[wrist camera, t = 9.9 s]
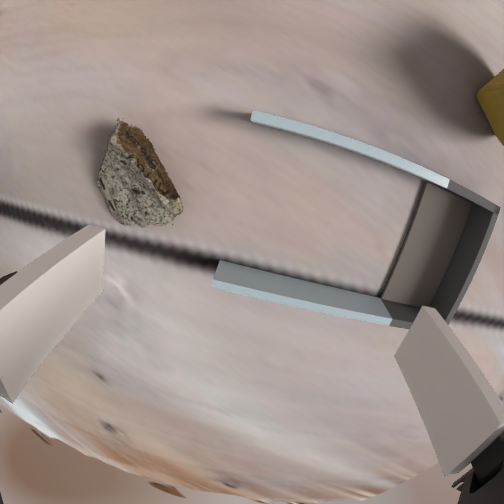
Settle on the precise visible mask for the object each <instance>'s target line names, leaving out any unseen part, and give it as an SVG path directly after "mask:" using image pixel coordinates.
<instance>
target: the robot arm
mask: <svg viewBox="0 0 504 504" xmlns="http://www.w3.org/2000/svg"><path fill="white" fill-rule="evenodd" d="M104 246H105V229H104V228H100V227H97V226H93V225H88V226H86V227H84V228H83V229H81V230H79V231H78V232H76V233H75V234H73V235H72V236H70V237H68V238H67V239H65V240H64V241H62V242H61V243H59V244H58V245H56V246H55V247H53V248H52V249H50V250H49V251H47V252H46V253H44V254H43V255H41V256H40V257H38V258H37V259H36V260H34V261H33V262H31V263H30V264H28V265H27V266H26V267H24V268H23V269H21V270H20V271H19V272H17V271H16V272H14V273H11V274H8V275H6V276H3V277H2V278H0V396H2V397H3V398H5V399H6V400H8V401H9V402H11V403H12V404H13V402H14V401H15V399H16V398H17V397H18V395H19V394H20V392H21V391H22V390H23V388H24V387H25V386H26V384H27V383H28V382H29V380H30V379H31V378H32V376H33V375H34V374H35V372H36V371H37V370H38V368H39V367H40V366H41V364H42V363H43V362H44V361H45V359H46V358H47V357H48V356H49V354H50V353H51V352H52V350H53V349H54V348H55V347H56V346H57V344H58V343H59V342H60V341H61V339H62V338H63V337H64V336H65V335H66V333H67V332H68V331H69V330H70V329H71V327H72V326H73V325H74V324H75V323H76V321H77V320H78V319H79V318H80V317H81V316H82V314H83V313H84V312H85V311H86V310H87V309H88V308H89V306H90V305H91V304H92V303H93V302H94V301H95V300H96V299H97V297H98V296H99V295H100V294H101V293H102V292H103V291H104ZM394 356H395V358H396V361H397V363H398V365H399V367H400V369H401V371H402V373H403V376H404V378H405V380H406V382H407V384H408V387H409V389H410V391H411V393H412V396H413V398H414V400H415V403H416V405H417V407H418V410H419V412H420V414H421V417H422V419H423V422H424V424H425V427H426V429H427V431H428V434H429V437H430V439H431V442H432V444H433V447H434V449H435V452H436V455H437V458H438V460H439V463H440V466H441V468H442V471H443V474H444V476H448V475H452V474H455V473H459V472H460V471H461V470H462V469H464V468H465V467H466V466H467V465H468V464H470V463H471V464H472V467H473V468H472V469H470V470H469V471H468V472H467V473H466V474H465V475H463V476H462V477H461V478H459V479H458V480H457V481H455V482H454V483H453V485H452V487H453V488H454V487H455V486H457V485H458V484H459V483H461V482H464V483H463V484H462V485H460V486H459V487H458V488H457V490H459V491H461V494H460V498H459V501H458V504H504V405H503V404H502V402H501V400H500V399H499V397H498V396H497V394H496V392H495V391H494V389H493V388H492V386H491V385H490V383H489V382H488V380H487V379H486V377H485V376H484V374H483V373H482V371H481V370H480V368H479V367H478V365H477V364H476V362H475V361H474V360H473V358H472V357H471V355H470V354H469V352H468V351H467V350H466V348H465V347H464V346H463V344H462V343H461V341H460V340H459V339H458V337H457V336H456V335H455V333H454V332H453V331H452V329H451V328H450V327H449V326H448V324H447V323H446V322H445V320H444V319H443V318H442V317H441V315H440V314H439V313H438V311H437V310H436V309H435V308H431V307H427V306H422V307H421V309H420V311H419V313H418V315H417V317H416V319H415V320H414V322H413V324H412V326H411V328H410V329H409V331H408V333H407V335H406V336H405V338H404V340H403V342H402V343H401V345H400V347H399V348H398V350H397V352H396V353H395V355H394ZM0 504H3V501H2V497H1V493H0Z"/></svg>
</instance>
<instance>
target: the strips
mask: <svg viewBox="0 0 504 504" xmlns="http://www.w3.org/2000/svg"><path fill="white" fill-rule="evenodd" d="M250 121H251V122H252V123H256V124H260V125H264V126H268V127H272V128H276V129H280V130H284V131H287V132H291V133H295V134H298V135H302V136H305V137H308V138H312V139H315V140H318V141H322V142H325V143H328V144H331V145H334V146H337V147H340V148H343V149H346V150H349V151H352V152H355V153H358V154H361V155H364V156H366V157H369V158H372V159H375V160H377V161H380V162H382V163H385V164H388V165H390V166H393V167H395V168H398V169H400V170H403V171H405V172H407V173H410V174H412V175H415V176H417V177H419V178H422V179H424V180H426V181H429V182H431V183H434V184H437V185H439V186H442V187H444V188H447V187H448V184H449V181H450V180H449V179H447V178H445V177H443V176H441V175H439V174H437V173H435V172H432V171H430V170H428V169H426V168H424V167H422V166H419V165H417V164H415V163H413V162H410V161H408V160H406V159H403V158H401V157H399V156H396V155H394V154H391V153H389V152H386V151H384V150H381V149H379V148H376V147H373V146H371V145H368V144H365V143H363V142H360V141H357V140H354V139H351V138H349V137H346V136H343V135H340V134H337V133H334V132H331V131H328V130H324V129H321V128H318V127H315V126H311V125H308V124H305V123H301V122H298V121H294V120H290V119H287V118H283V117H279V116H275V115H271V114H267V113H263V112H259V111H255V110H253V112H252V116H251V120H250ZM211 288H215V289H220V290H224V291H228V292H232V293H236V294H240V295H244V296H249V297H253V298H257V299H261V300H266V301H270V302H275V303H279V304H284V305H288V306H293V307H297V308H302V309H307V310H311V311H316V312H321V313H326V314H331V315H336V316H341V317H346V318H351V319H356V320H361V321H366V322H372V323H377V324H383V325H388V326H389V325H390V323H391V321H392V317H391V315H390V314H389V312H388V310H387V309H386V307H385V305H384V304H383V302H382V300H381V299H380V298H378V297H374V296H370V295H365V294H361V293H356V292H352V291H348V290H343V289H339V288H335V287H330V286H326V285H322V284H317V283H313V282H309V281H304V280H300V279H296V278H292V277H288V276H283V275H279V274H275V273H271V272H267V271H262V270H258V269H254V268H250V267H246V266H242V265H238V264H234V263H230V262H225V261H221V260H220V261H219V264H218V267H217V270H216V273H215V276H214V278H213V283H212V287H211Z"/></svg>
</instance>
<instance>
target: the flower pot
mask: <svg viewBox="0 0 504 504" xmlns="http://www.w3.org/2000/svg"><path fill="white" fill-rule="evenodd" d="M477 100H478V102H479V104H480V106H481V107H482V109H483V111H484V113H485V115H486V117H487V119H488V121H489V123H490V125H491V127H492V129H493V132H494V134H495V135H496V137H497V138H498V139H499V141H500V142H501V143H502V145H503V146H504V69H503V70H502V71H501V72H500V73H499V74H497V75H496V76H495V77H494V78H493V79H492V80H491V81H489V82H488V83H487V84H486V85H485V86H483V87H482V88H481V89H480V90H479V91H478V93H477Z"/></svg>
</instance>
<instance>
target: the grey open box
mask: <svg viewBox="0 0 504 504" xmlns="http://www.w3.org/2000/svg"><path fill="white" fill-rule="evenodd" d="M428 182H429V181H428ZM428 182H426V181H425V184H424V187H423V191H422V194H421V197H420V200H419V203H418V206H417V208H416V211H415V214H414V217H413V220H412V222H411V225H410V228H409V230H408V233H407V236H406V238H405V241H404V243H403V246H402V248H401V251H400V253H399V256H398V258H397V261H396V263H395V265H394V268H393V270H392V272H391V275H390V277H389V279H388V281H387V284H386V286H385V288H384V290H383V292H382V295H381V298H380V299H381V300H382V302H383V304H384V305H385V307H386V309H387V310H388V312H389V314H390V315H391V317H392V321H391V323H390V325H389V326H394V327H399V328H405V329H410V328H411V326H412V324H413V322H414V320H415V319H416V317H417V315H418V313H419V311H420V309H421V307H422V306H427V307H431V308H435V309H436V310H437V311H438V313H439V314H440V315H441V317H442V318H443V319H444V320H445V322H446V323H447V324H448V325H449V323H450V321H451V319H452V318H453V316H454V314H455V312H456V310H457V308H458V306H459V305H460V303H461V301H462V299H463V297H464V295H465V293H466V291H467V289H468V287H469V285H470V283H471V281H472V278H473V276H474V274H475V272H476V270H477V268H478V265H479V263H480V261H481V258H482V256H483V254H484V251H485V249H486V246H487V244H488V241H489V239H490V236H491V233H492V231H493V228H494V225H495V222H496V220H497V217H498V214H499V211H500V207H499V206H497V205H495V204H494V203H492V202H490V201H488V200H487V199H485V198H483V197H481V196H480V195H478V194H476V193H474V192H472V191H470V190H468V189H467V188H465V187H463V186H461V185H459V184H457V183H455V182H453V181H451V180H450V181H449V184H448V187H447V188H444V187H442V186H439V185H437V184H435V185H437V186H439V187H441V188H439V187H437V186H435V185H433V184H434V183H433V184H431V183H428ZM442 188H444V189H446V190H448V191H450V192H452V193H454V194H456V195H458V196H460V197H462V198H464V199H466V200H468V201H470V202H471V203H470V202H468V201H466V200H464V199H462V198H460V197H458V196H456V195H454V194H452V193H450V192H448V191H446V190H444V189H442Z"/></svg>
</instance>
